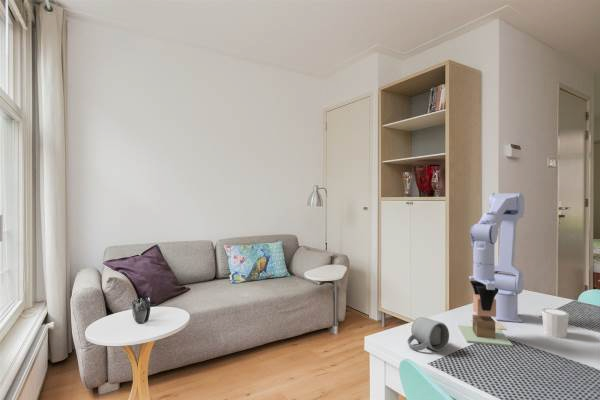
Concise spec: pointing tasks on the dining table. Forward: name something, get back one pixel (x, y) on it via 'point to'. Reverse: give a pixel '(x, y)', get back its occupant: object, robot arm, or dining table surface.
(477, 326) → the walnut block
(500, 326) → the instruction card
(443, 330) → the ceramic mug
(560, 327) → the white cup
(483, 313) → the terracotta block
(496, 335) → the plate
